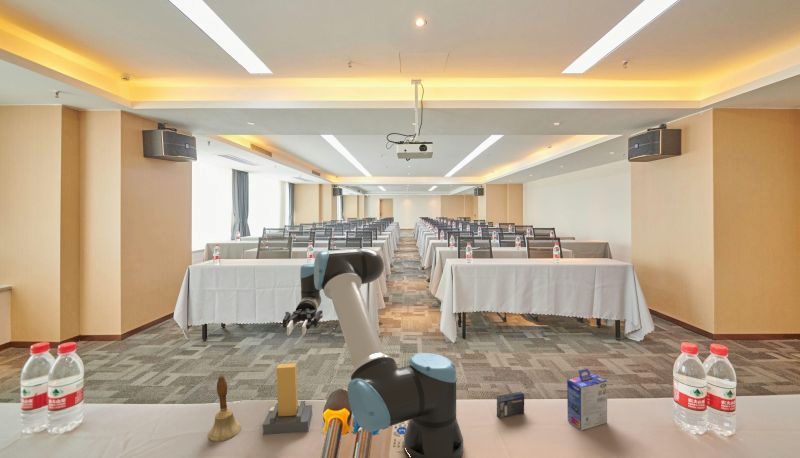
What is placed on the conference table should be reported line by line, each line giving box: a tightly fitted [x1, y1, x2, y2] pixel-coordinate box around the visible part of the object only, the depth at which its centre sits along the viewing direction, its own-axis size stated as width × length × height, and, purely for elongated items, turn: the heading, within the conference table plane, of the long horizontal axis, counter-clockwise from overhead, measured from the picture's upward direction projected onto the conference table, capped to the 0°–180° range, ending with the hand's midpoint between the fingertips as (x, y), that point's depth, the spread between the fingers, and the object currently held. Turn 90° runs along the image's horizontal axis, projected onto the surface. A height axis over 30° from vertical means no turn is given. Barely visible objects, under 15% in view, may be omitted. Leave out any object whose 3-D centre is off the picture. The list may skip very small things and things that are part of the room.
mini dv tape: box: [496, 391, 525, 419], centre depth 105 cm, size 8×2×6 cm, turn 106°
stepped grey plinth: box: [262, 400, 313, 436], centre depth 102 cm, size 12×8×4 cm, turn 96°
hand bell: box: [207, 375, 242, 442], centre depth 99 cm, size 8×8×16 cm
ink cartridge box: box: [566, 368, 608, 431], centre depth 101 cm, size 10×6×14 cm, turn 110°
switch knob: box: [275, 362, 299, 417], centre depth 101 cm, size 5×2×14 cm, turn 96°
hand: (295, 330), depth 115 cm, fingers open, 4 cm apart
